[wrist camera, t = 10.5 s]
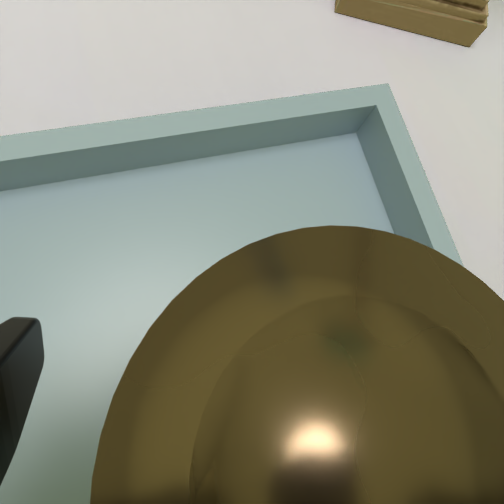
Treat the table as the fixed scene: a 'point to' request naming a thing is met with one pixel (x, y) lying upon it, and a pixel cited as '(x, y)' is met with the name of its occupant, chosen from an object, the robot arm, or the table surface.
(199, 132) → the tray
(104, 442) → the pin
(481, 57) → the table surface
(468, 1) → the banker's lamp
